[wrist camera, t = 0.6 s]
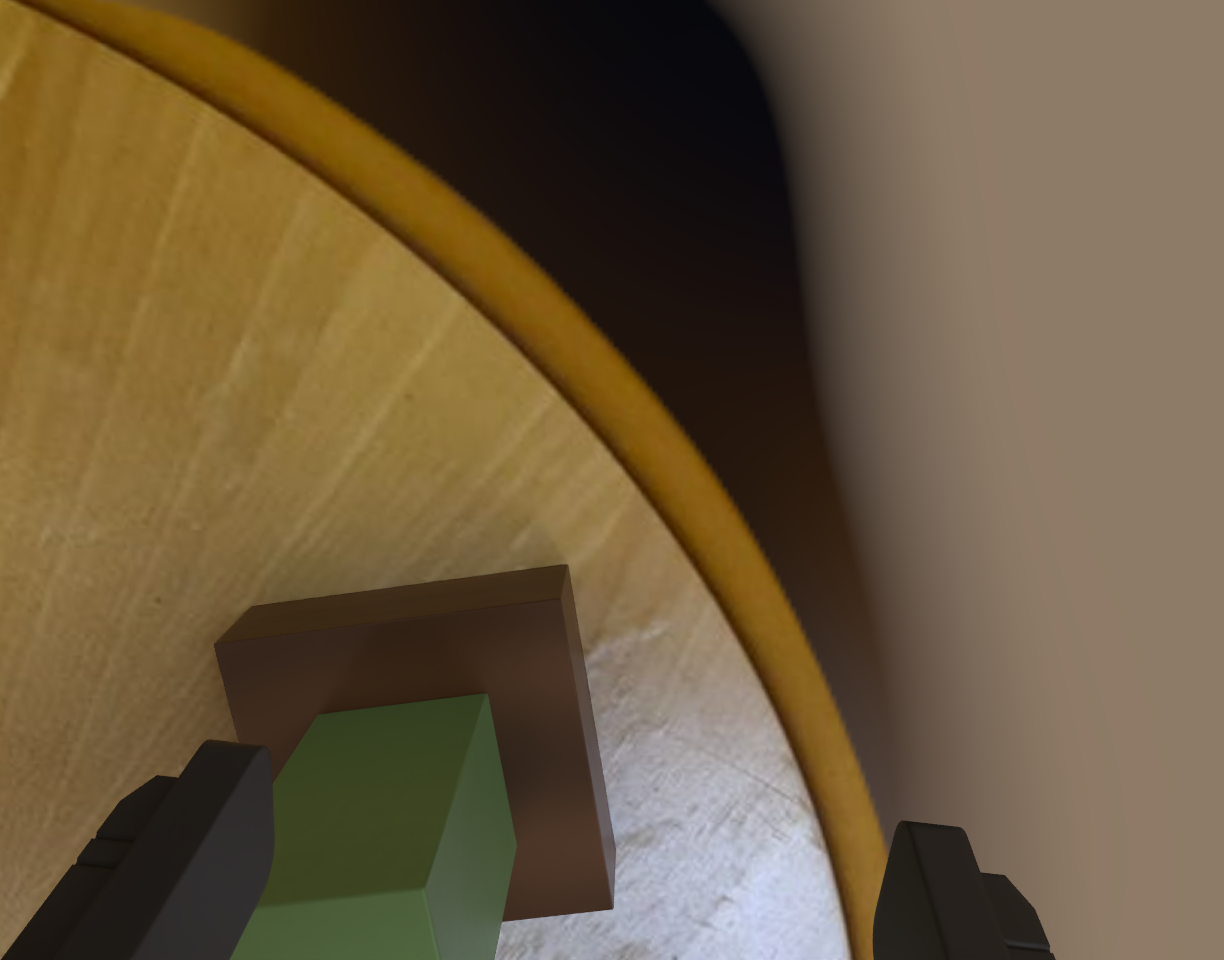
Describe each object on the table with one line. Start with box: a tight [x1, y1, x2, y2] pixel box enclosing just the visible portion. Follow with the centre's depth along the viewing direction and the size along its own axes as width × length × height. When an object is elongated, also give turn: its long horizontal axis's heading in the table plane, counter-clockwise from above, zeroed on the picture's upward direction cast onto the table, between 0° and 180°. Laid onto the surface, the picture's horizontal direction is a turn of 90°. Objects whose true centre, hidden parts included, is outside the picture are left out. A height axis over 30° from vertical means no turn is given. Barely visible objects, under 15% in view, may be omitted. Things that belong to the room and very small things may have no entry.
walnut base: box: [214, 565, 616, 922], centre depth 32 cm, size 10×10×3 cm
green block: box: [230, 693, 517, 960], centre depth 26 cm, size 5×5×9 cm
